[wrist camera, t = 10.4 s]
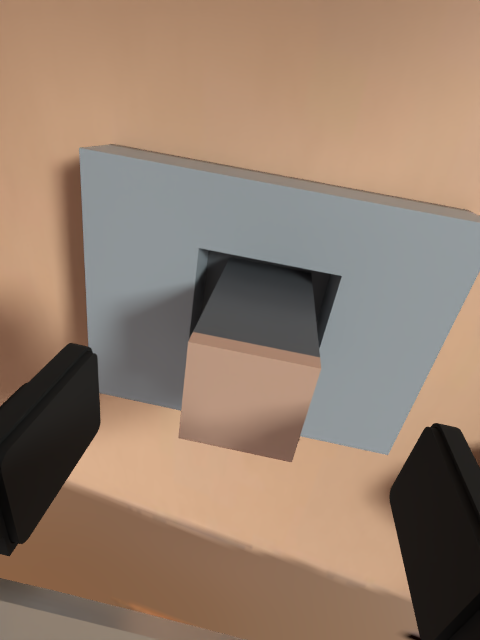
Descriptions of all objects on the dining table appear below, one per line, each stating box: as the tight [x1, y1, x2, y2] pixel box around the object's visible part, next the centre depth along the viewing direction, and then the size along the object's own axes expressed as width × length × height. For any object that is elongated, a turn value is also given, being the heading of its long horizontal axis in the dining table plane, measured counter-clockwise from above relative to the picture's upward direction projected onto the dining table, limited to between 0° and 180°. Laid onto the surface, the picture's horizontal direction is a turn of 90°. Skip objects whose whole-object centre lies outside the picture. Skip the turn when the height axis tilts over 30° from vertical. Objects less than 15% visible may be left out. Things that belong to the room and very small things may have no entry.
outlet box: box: [79, 144, 480, 455], centre depth 18 cm, size 16×12×3 cm
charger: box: [179, 258, 321, 462], centre depth 15 cm, size 4×4×8 cm
